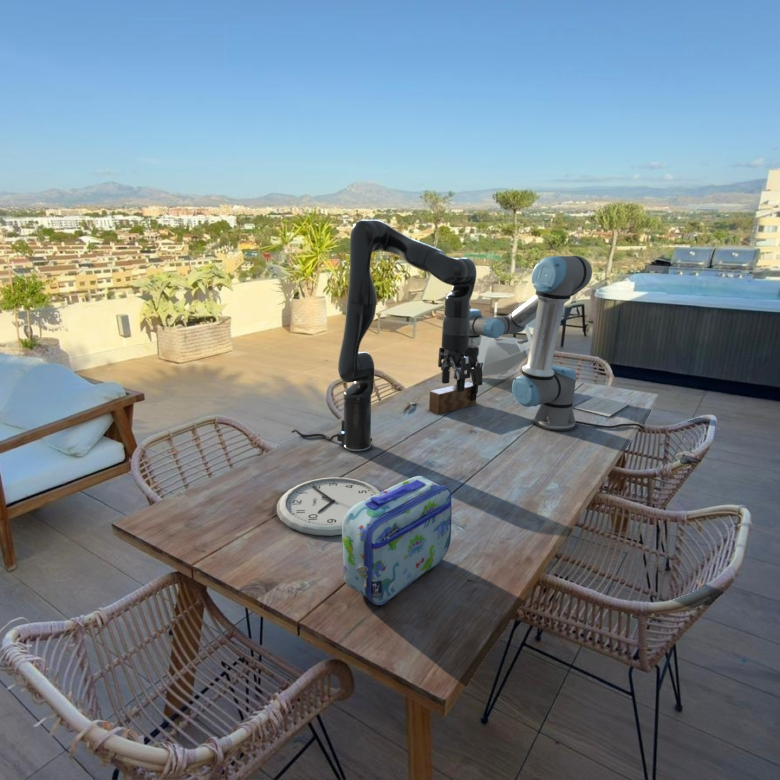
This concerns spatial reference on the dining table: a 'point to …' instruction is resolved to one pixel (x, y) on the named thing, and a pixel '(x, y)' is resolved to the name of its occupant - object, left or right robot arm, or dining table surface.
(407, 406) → the fork
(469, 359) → the left robot arm
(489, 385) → the dining table surface
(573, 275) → the right robot arm
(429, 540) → the lunch box
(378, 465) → the dining table surface
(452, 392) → the bar
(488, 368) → the white plastic object
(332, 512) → the wall clock
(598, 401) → the grey rectangular panel
